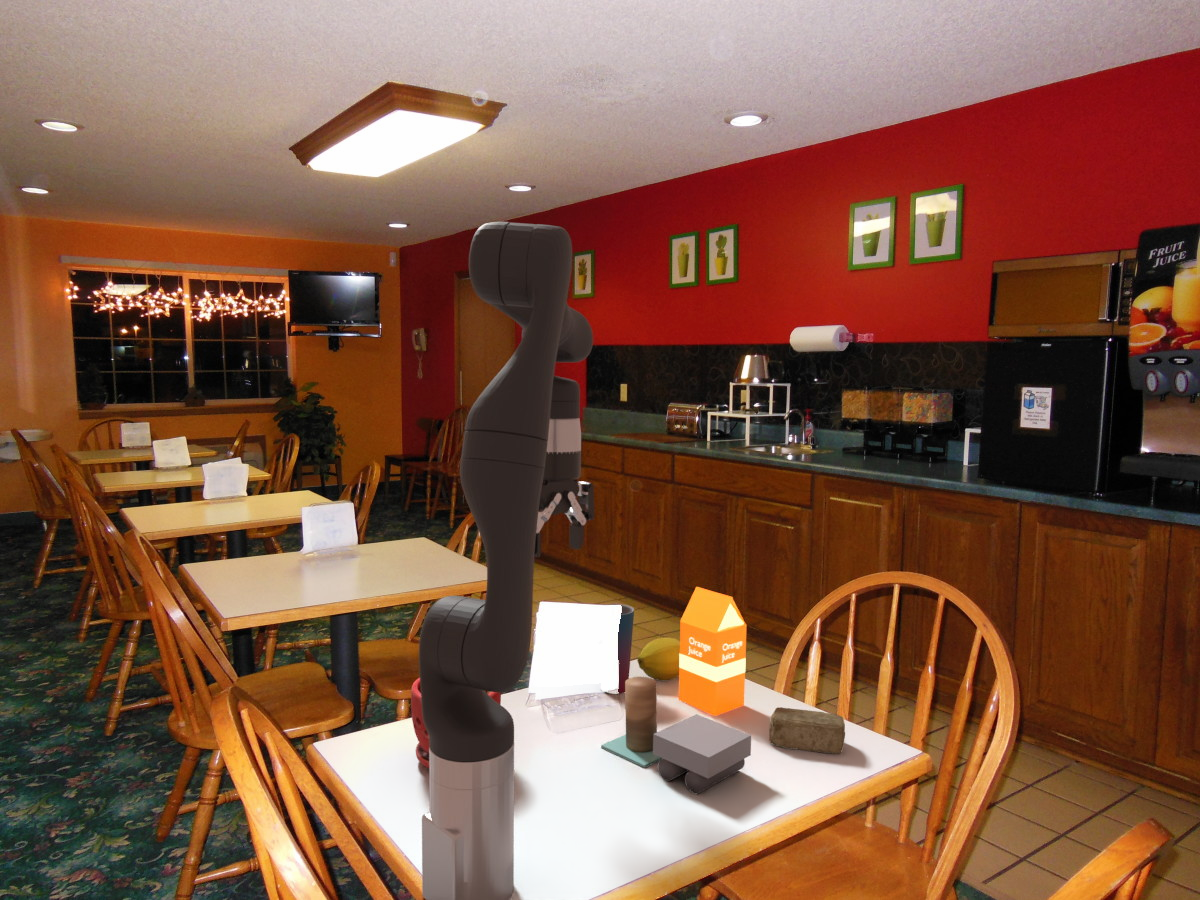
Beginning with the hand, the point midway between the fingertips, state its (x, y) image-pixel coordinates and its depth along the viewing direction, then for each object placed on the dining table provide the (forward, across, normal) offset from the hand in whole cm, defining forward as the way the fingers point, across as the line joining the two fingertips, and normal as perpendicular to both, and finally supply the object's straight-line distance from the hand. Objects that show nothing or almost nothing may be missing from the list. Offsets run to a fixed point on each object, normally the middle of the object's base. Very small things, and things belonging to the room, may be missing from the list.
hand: (555, 552), depth 127 cm
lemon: (+30, +32, +5) cm, 44 cm away
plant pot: (+30, -15, +5) cm, 34 cm away
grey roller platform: (+30, +8, -23) cm, 39 cm away
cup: (+30, +22, +8) cm, 38 cm away
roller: (+30, +8, -11) cm, 33 cm away
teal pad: (+30, +8, -12) cm, 33 cm away
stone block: (+30, +28, -28) cm, 50 cm away
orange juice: (+30, +30, -8) cm, 43 cm away
